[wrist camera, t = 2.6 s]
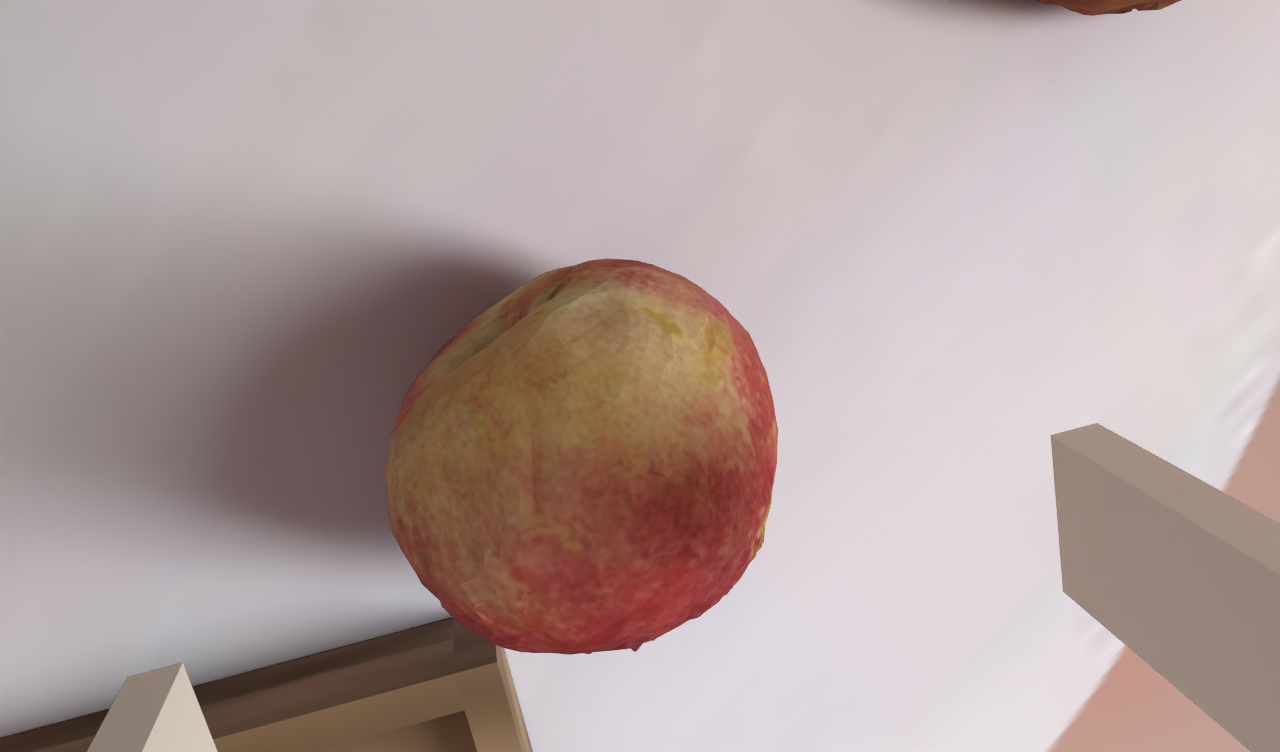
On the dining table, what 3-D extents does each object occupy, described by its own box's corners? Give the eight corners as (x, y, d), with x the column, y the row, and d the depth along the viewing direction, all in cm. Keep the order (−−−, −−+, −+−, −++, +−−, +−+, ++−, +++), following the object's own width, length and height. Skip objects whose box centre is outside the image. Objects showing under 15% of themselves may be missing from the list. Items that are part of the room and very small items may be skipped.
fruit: (696, 201, 24) (812, 268, 16) (744, 499, 26) (864, 675, 19) (360, 273, 23) (320, 378, 16) (442, 574, 26) (442, 790, 18)
